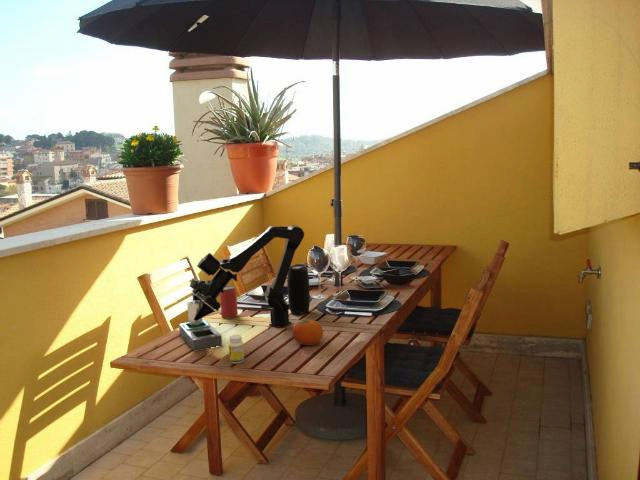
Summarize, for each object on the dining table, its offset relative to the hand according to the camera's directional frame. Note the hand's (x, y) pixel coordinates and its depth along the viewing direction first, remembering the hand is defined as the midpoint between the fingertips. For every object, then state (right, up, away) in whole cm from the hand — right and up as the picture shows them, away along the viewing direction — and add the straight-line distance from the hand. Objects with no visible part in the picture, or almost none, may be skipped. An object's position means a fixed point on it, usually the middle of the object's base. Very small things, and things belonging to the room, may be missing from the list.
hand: (191, 316), depth 231 cm
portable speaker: (+39, -2, +27) cm, 47 cm away
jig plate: (+4, -8, -3) cm, 9 cm away
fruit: (+43, -8, -11) cm, 45 cm away
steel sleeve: (+2, -7, +2) cm, 8 cm away
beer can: (+10, -3, +26) cm, 28 cm away
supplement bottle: (+20, -12, -26) cm, 35 cm away
